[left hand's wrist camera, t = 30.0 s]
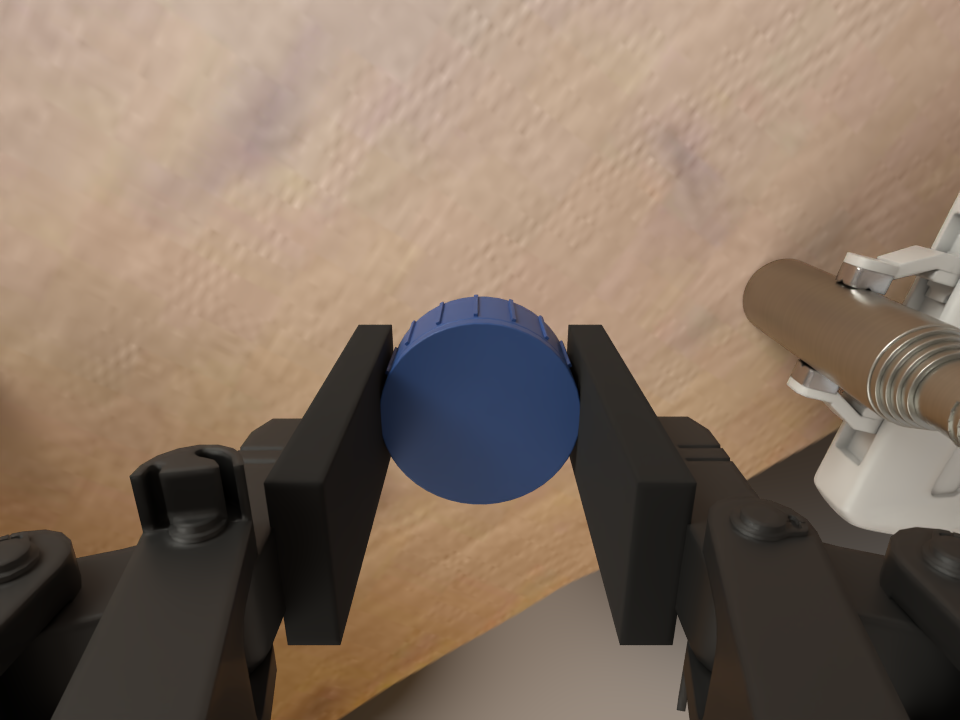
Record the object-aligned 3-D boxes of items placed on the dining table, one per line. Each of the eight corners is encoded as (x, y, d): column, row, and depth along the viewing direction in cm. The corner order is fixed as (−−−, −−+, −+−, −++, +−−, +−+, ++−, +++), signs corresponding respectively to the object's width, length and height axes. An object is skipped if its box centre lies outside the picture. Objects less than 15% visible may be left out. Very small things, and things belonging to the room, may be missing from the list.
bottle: (737, 270, 36) (939, 383, 20) (814, 249, 36) (1082, 348, 20) (747, 339, 38) (940, 493, 22) (821, 320, 37) (1072, 463, 21)
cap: (425, 479, 15) (418, 528, 13) (361, 326, 14) (343, 357, 12) (589, 432, 15) (605, 476, 13) (541, 268, 13) (550, 292, 11)
